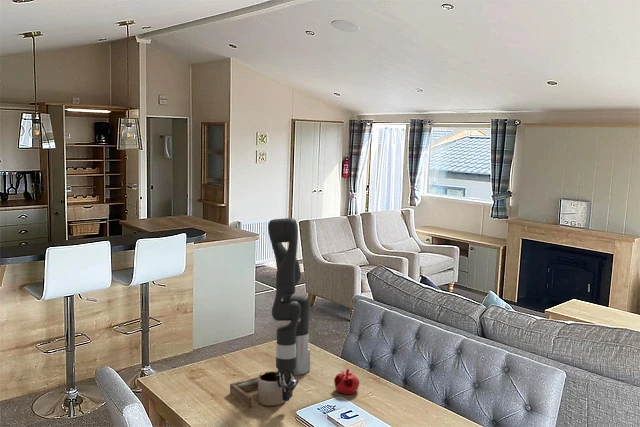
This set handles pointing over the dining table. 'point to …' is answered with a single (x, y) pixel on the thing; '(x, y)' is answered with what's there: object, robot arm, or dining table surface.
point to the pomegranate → (346, 382)
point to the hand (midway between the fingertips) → (285, 400)
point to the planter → (269, 390)
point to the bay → (240, 387)
